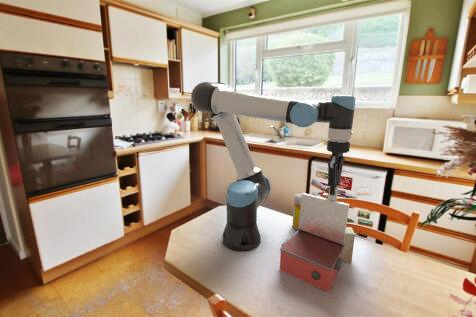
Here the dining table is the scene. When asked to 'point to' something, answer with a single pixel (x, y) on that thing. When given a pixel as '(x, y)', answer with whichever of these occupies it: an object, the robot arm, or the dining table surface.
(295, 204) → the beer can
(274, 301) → the dining table surface
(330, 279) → the red hinged chest
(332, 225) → the lid
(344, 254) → the box
